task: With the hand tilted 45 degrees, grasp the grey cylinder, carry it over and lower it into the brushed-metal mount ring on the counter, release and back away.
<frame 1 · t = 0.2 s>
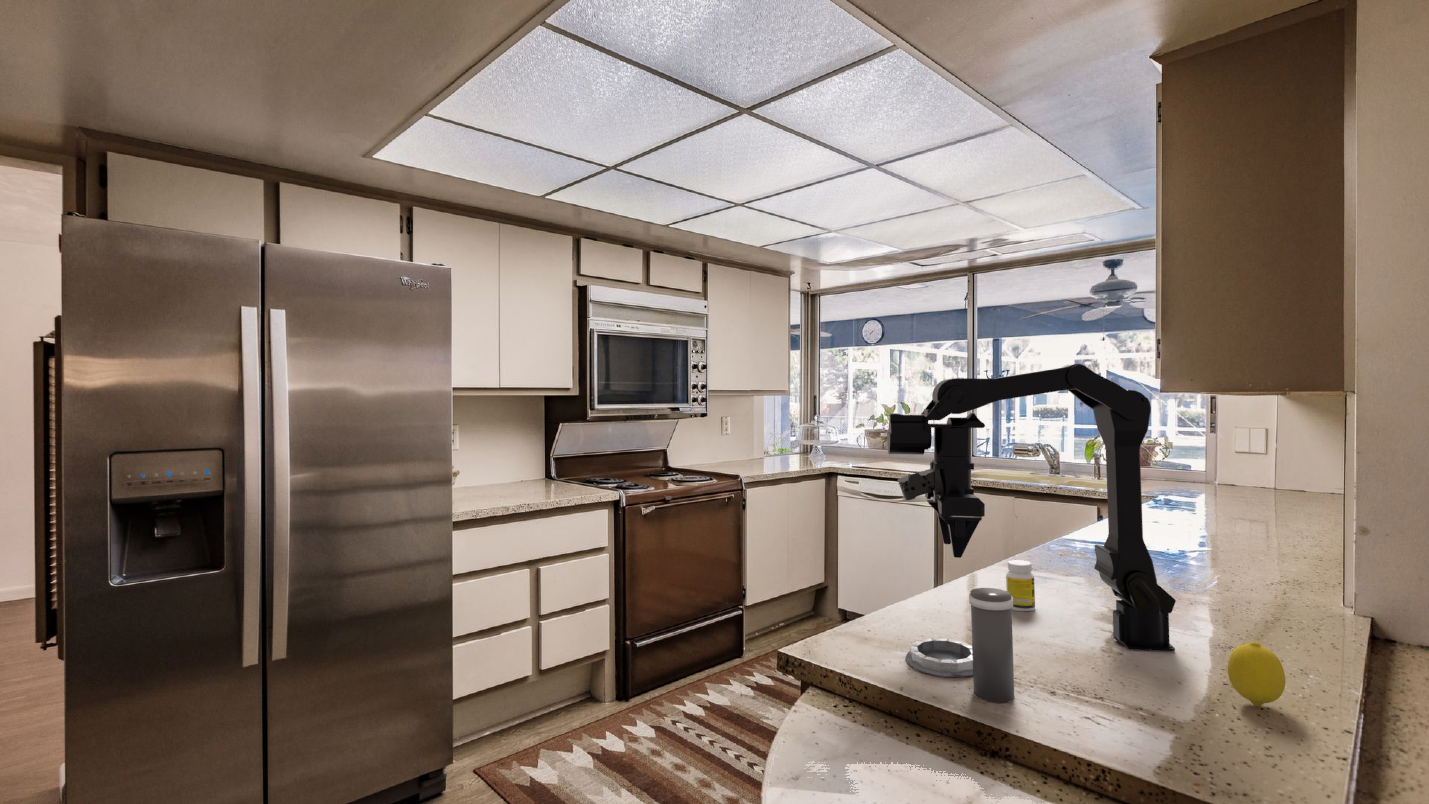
hand: (952, 550, 107), 14 cm above the worktop, tool pointing down, fingers open, 9 cm apart
mount ring: (944, 661, 98), on the worktop
lemon: (1256, 707, 82), on the worktop
grey cylinder: (993, 694, 87), on the worktop
supplement bottle: (1021, 608, 121), on the worktop
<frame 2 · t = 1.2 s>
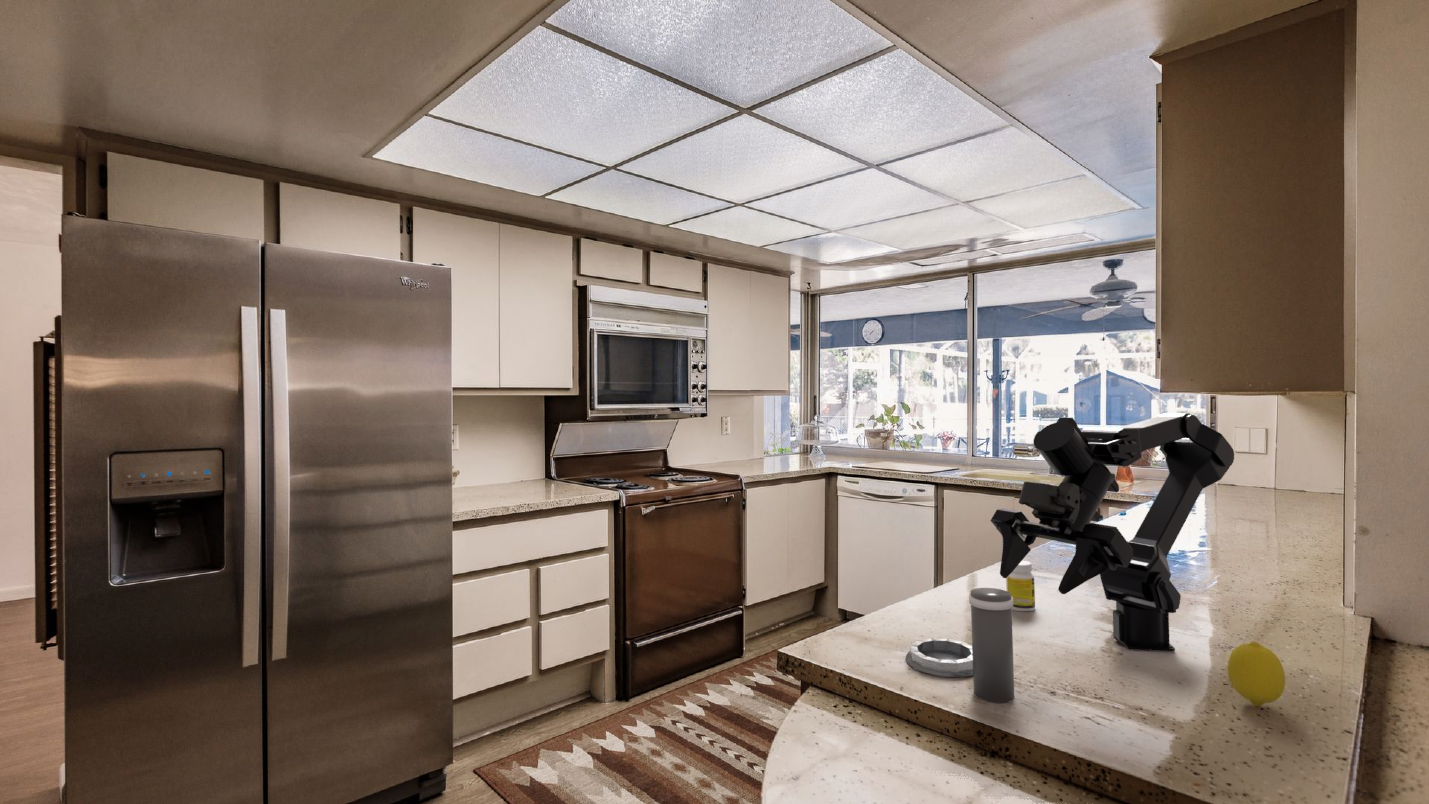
hand: (1030, 584, 91), 13 cm above the worktop, tool tilted 45°, fingers open, 9 cm apart
nothing on the worktop moved.
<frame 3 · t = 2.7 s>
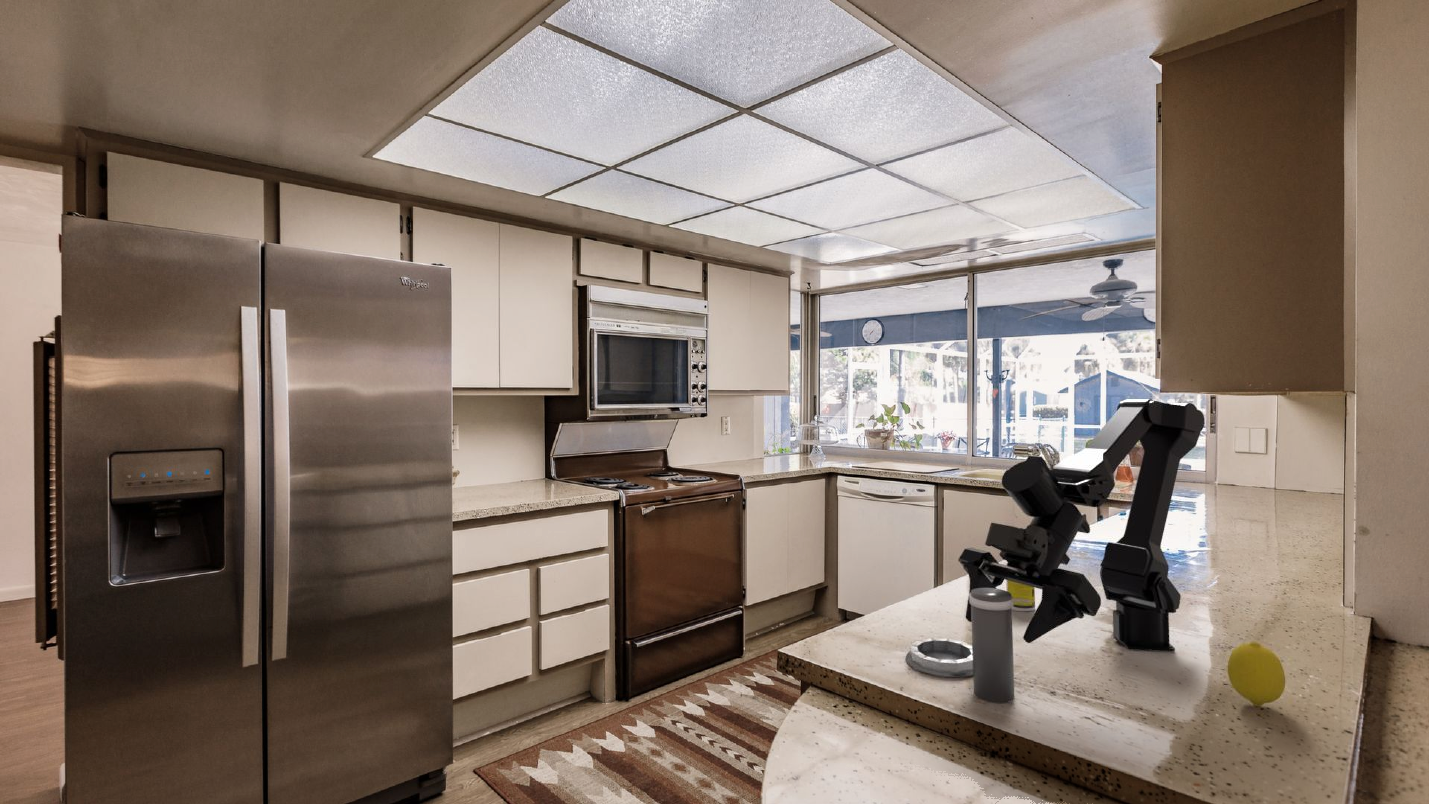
hand: (995, 630, 87), 8 cm above the worktop, tool tilted 45°, fingers open, 9 cm apart
nothing on the worktop moved.
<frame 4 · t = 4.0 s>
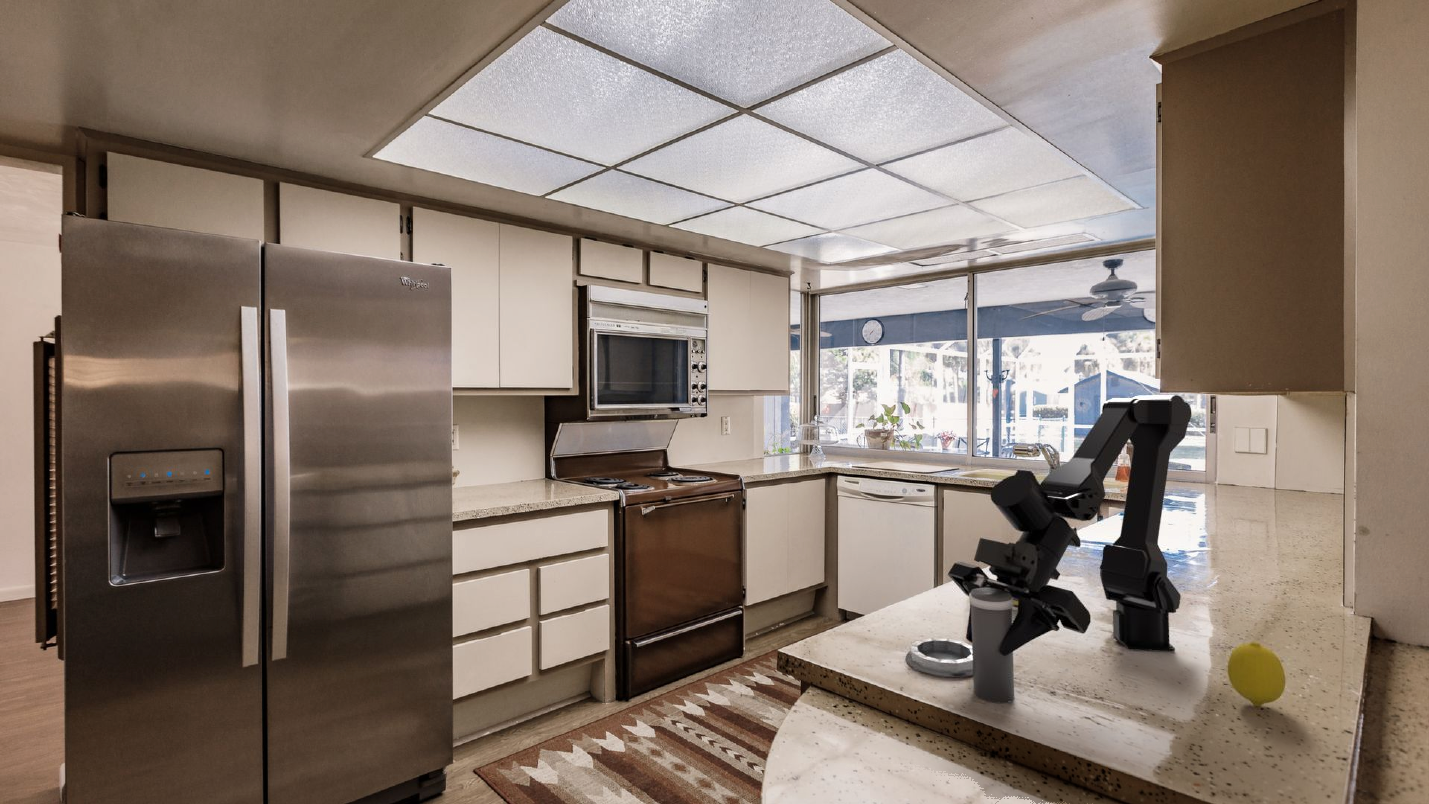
hand: (984, 647, 86), 7 cm above the worktop, tool tilted 45°, fingers closed on grey cylinder, 5 cm apart
grey cylinder: (993, 694, 87), on the worktop, touching gripper
everything else where it was.
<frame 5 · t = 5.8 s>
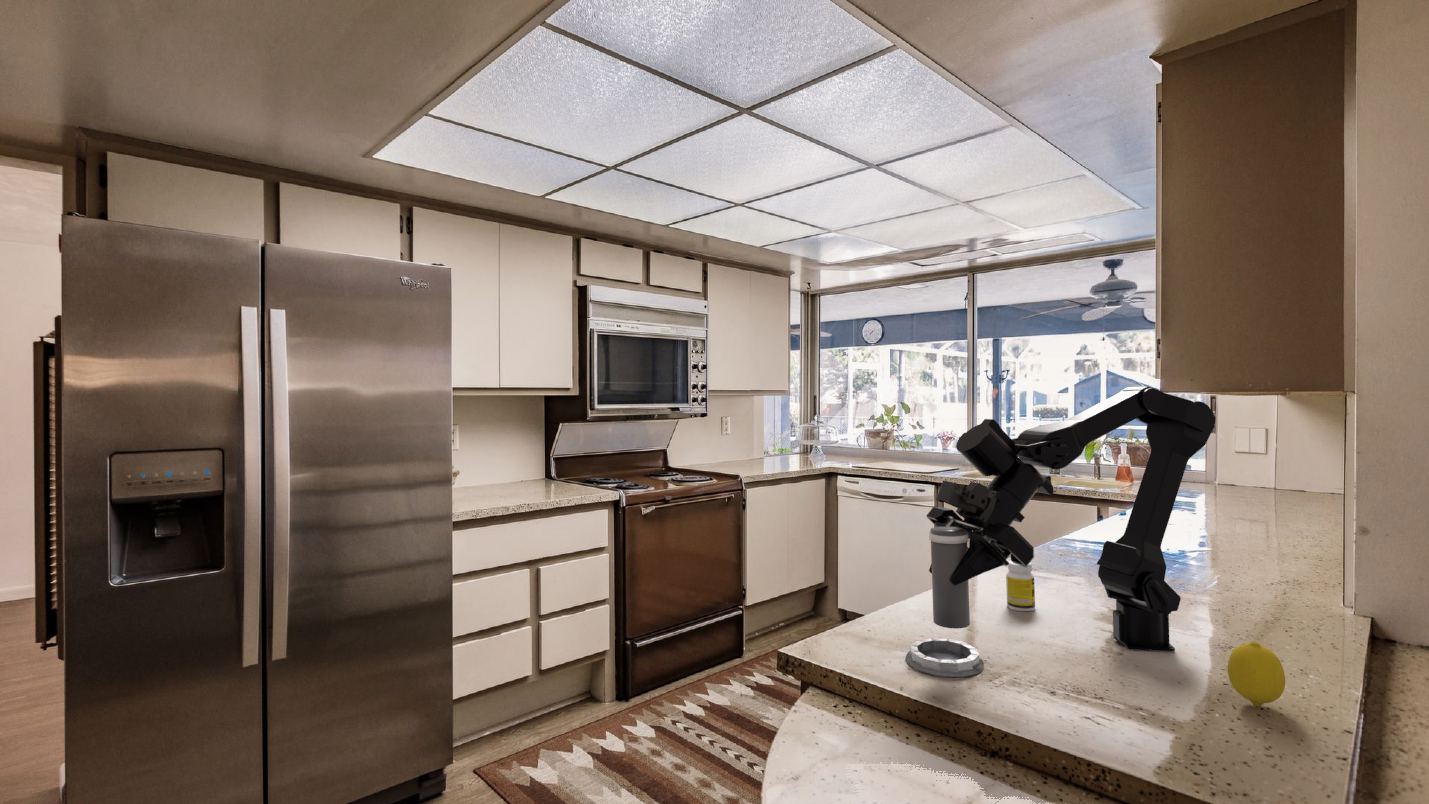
hand: (941, 578, 95), 13 cm above the worktop, tool tilted 45°, fingers closed on grey cylinder, 5 cm apart
grey cylinder: (951, 622, 95), point 7 cm above the worktop, touching gripper
everything else where it was.
when the fingers open (7 cm above the worktop, at t = 7.8 s): grey cylinder stays where it is, resting on mount ring.
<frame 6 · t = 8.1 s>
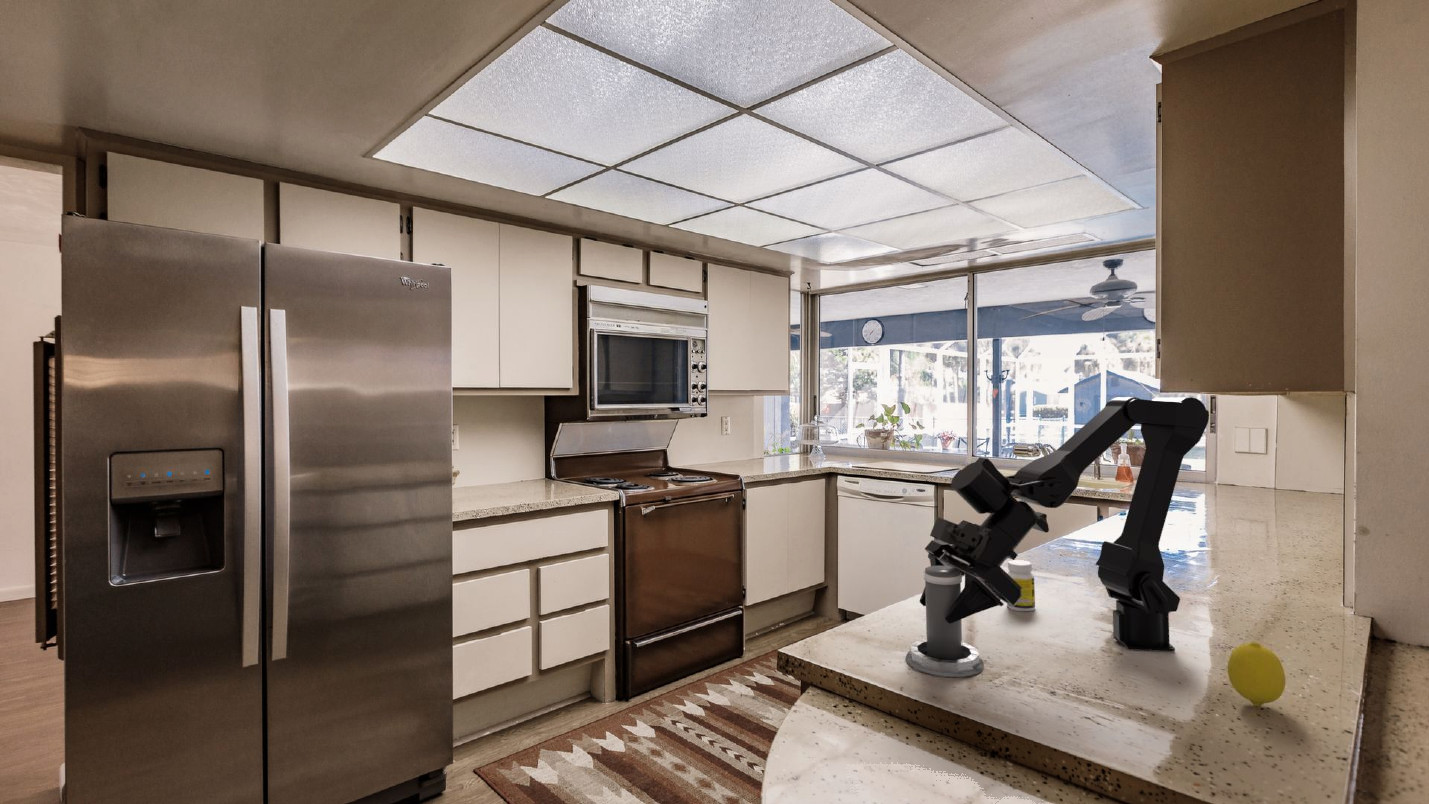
hand: (933, 612, 98), 8 cm above the worktop, tool tilted 45°, fingers open, 8 cm apart
grey cylinder: (944, 659, 98), resting on mount ring
everything else where it was.
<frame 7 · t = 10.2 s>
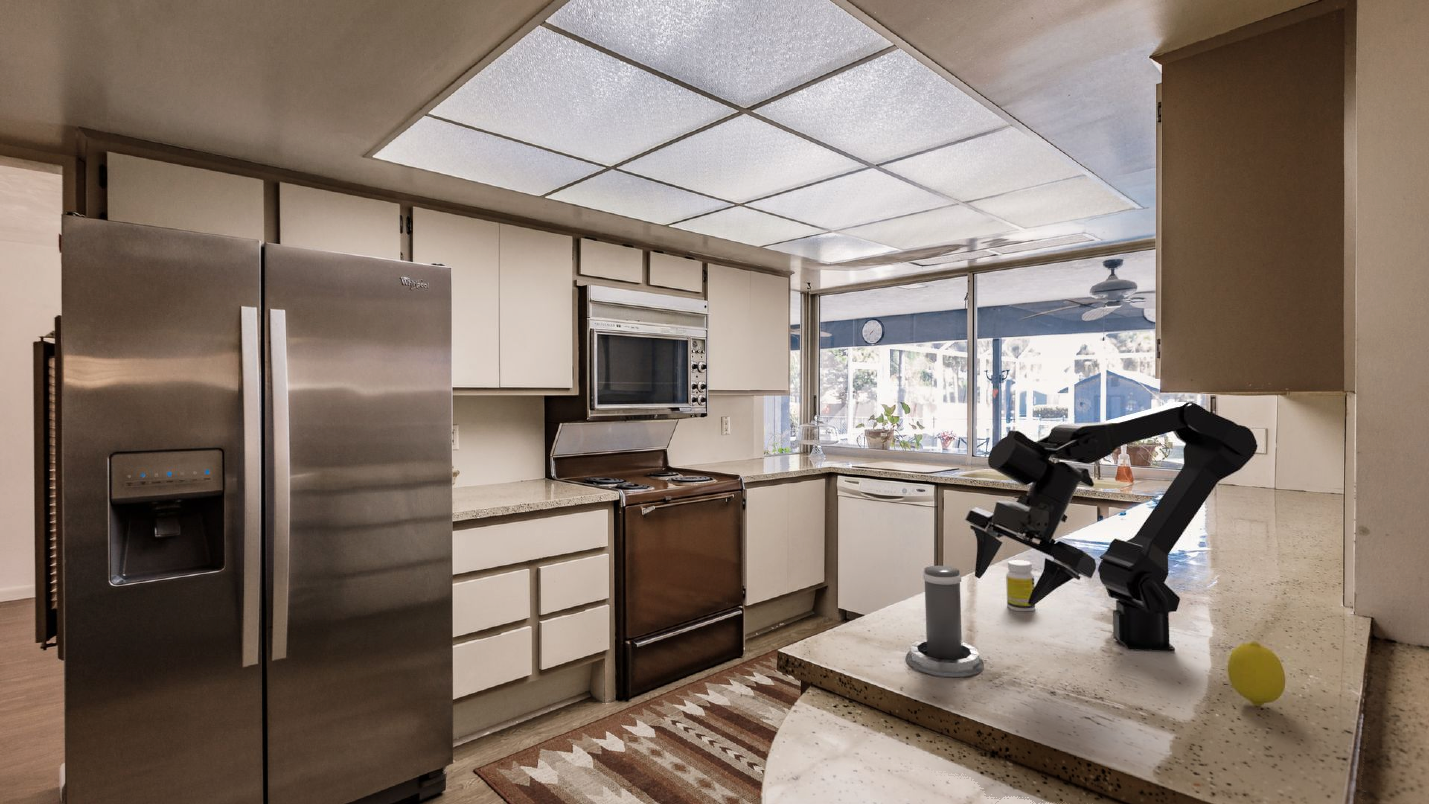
hand: (1002, 590, 99), 10 cm above the worktop, tool tilted 30°, fingers open, 9 cm apart
nothing on the worktop moved.
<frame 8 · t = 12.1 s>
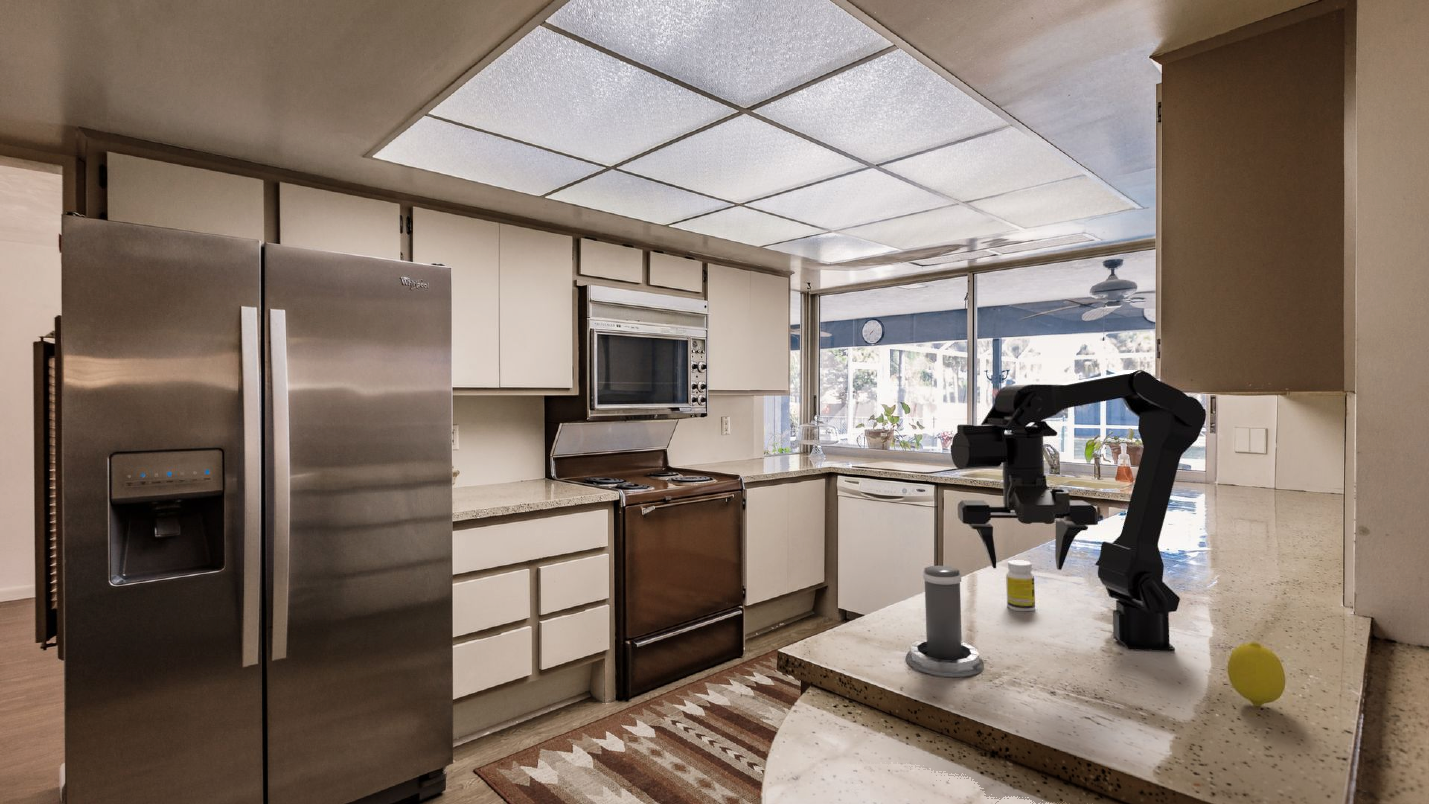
hand: (1026, 568, 100), 13 cm above the worktop, tool pointing down, fingers open, 9 cm apart
nothing on the worktop moved.
at the end: grey cylinder 0.1 cm from the mount ring (horizontally); grey cylinder tilted 0°; grey cylinder resting on mount ring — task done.
